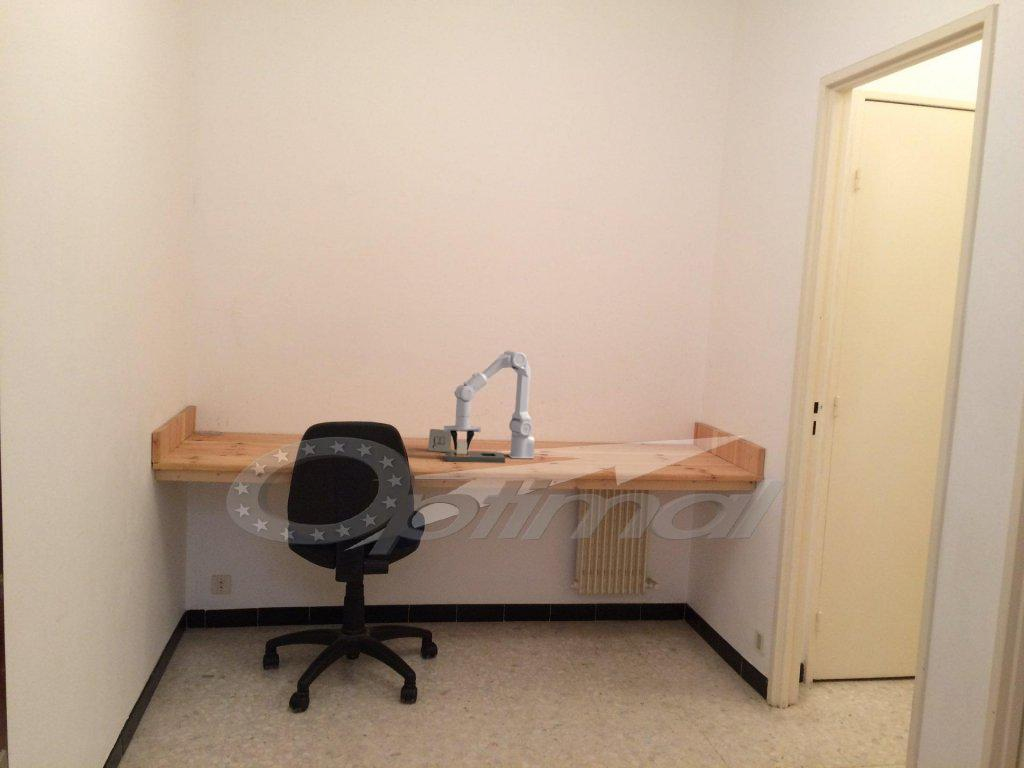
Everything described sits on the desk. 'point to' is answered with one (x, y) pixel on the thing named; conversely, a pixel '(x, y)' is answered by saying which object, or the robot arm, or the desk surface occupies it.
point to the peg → (461, 448)
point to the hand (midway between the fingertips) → (461, 449)
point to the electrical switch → (439, 440)
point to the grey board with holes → (475, 457)
